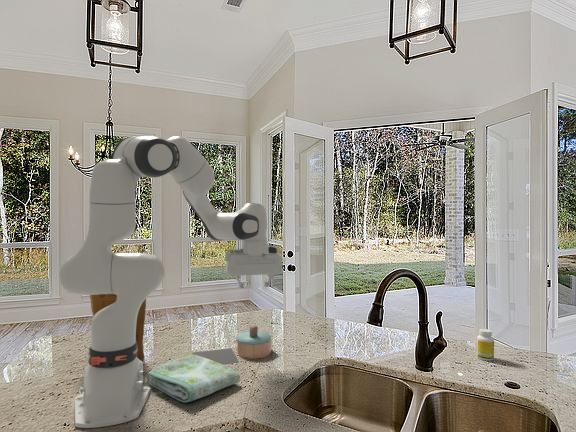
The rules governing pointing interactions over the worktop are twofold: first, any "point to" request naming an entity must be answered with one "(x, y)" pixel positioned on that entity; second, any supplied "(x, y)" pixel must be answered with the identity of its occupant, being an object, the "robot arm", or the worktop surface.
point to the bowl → (253, 350)
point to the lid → (253, 337)
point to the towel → (192, 377)
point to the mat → (219, 356)
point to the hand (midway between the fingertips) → (254, 287)
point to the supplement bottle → (485, 345)
